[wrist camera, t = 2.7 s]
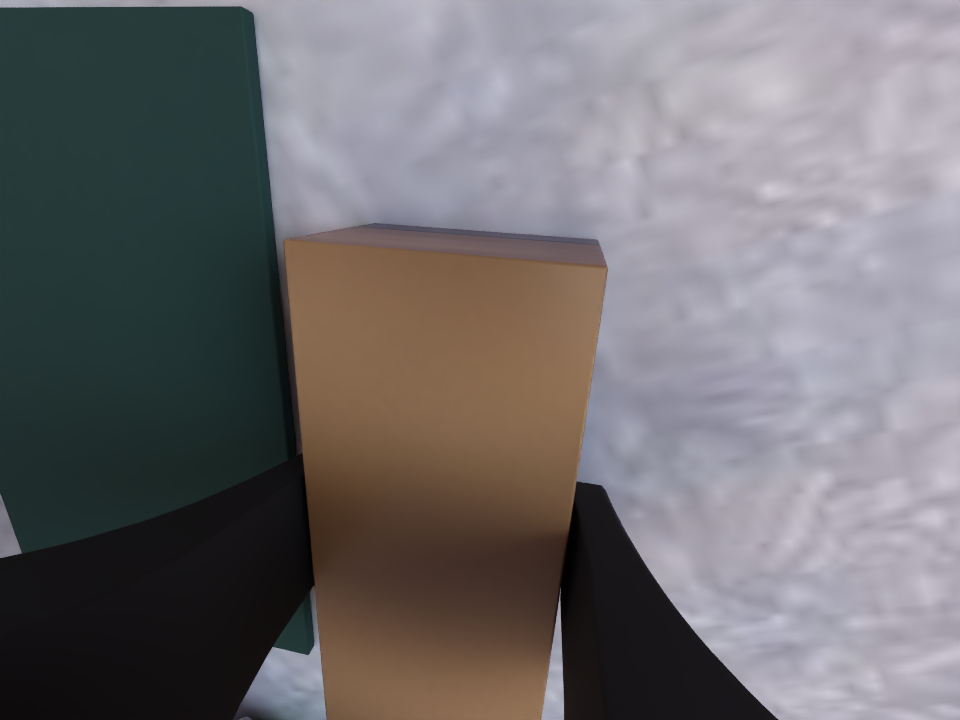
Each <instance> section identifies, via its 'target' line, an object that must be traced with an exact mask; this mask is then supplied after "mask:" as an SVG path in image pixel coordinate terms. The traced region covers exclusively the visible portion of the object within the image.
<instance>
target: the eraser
mask: <svg viewBox="0 0 960 720" xmlns="http://www.w3.org/2000/svg"><path fill="white" fill-rule="evenodd" d="M283 244H284V255H285V266H286V277H287V288H288V299H289V310H290V321H291V332H292V343H293V354H294V365H295V376H296V387H297V398H298V409H299V420H300V431H301V442H302V453H303V464H304V475H305V486H306V497H307V508H308V519H309V530H310V541H311V552H312V563H313V574H314V585H315V596H316V607H317V618H318V629H319V640H320V651H321V662H322V673H323V684H324V695H325V706H326V717H327V720H541V717H542V710H543V703H544V697H545V690H546V683H547V676H548V670H549V663H550V656H551V650H552V643H553V636H554V629H555V623H556V616H557V609H558V602H559V596H560V589H561V582H562V575H563V569H564V562H565V555H566V549H567V542H568V535H569V528H570V522H571V515H572V508H573V501H574V495H575V488H576V481H577V474H578V468H579V461H580V454H581V448H582V441H583V434H584V427H585V421H586V414H587V407H588V400H589V394H590V387H591V380H592V373H593V367H594V360H595V353H596V347H597V340H598V333H599V326H600V320H601V313H602V306H603V299H604V293H605V286H606V279H607V272H608V268H607V265H606V262H605V259H604V256H603V253H602V250H601V247H600V245H599V242H598V240H592V239H578V238H565V237H552V236H538V235H525V234H512V233H498V232H485V231H472V230H458V229H445V228H432V227H418V226H405V225H392V224H378V223H374V224H369V225H363V226H358V227H351V228H345V229H340V230H334V231H328V232H323V233H317V234H311V235H306V236H300V237H294V238H289V239H285V240H284V242H283Z"/></svg>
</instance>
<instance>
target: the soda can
mask: <svg viewBox="0 0 960 720" xmlns="http://www.w3.org/2000/svg"><path fill="white" fill-rule="evenodd" d="M238 720H253V719H251V718H249V717H243V718H240V719H238Z"/></svg>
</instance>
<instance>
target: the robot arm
mask: <svg viewBox="0 0 960 720" xmlns="http://www.w3.org/2000/svg"><path fill="white" fill-rule="evenodd" d="M313 586H314V574H313V563H312V552H311V541H310V530H309V519H308V508H307V497H306V486H305V475H304V464H303V453H302V454H300V455H298V456H296V457H294V458H292V459H289V460H287V461H285V462H283V463H281V464H279V465H277V466H275V467H273V468H271V469H269V470H267V471H265V472H262V473H260V474H258V475H256V476H254V477H252V478H250V479H248V480H245V481H243V482H241V483H239V484H236V485H234V486H232V487H229V488H227V489H225V490H223V491H220V492H218V493H216V494H213V495H211V496H209V497H207V498H204V499H202V500H199V501H197V502H194V503H192V504H189V505H187V506H184V507H181V508H179V509H176V510H173V511H170V512H168V513H165V514H162V515H159V516H156V517H153V518H151V519H148V520H145V521H142V522H139V523H135V524H132V525H128V526H125V527H122V528H118V529H115V530H111V531H108V532H105V533H101V534H98V535H95V536H91V537H88V538H84V539H81V540H77V541H73V542H69V543H65V544H61V545H57V546H53V547H49V548H45V549H40V550H36V551H31V552H27V553H22V554H18V555H13V556H8V557H4V558H0V720H232V719H233V717H234V715H235V713H236V712H237V710H238V708H239V706H240V704H241V702H242V700H243V698H244V697H245V695H246V693H247V691H248V689H249V687H250V686H251V684H252V682H253V680H254V678H255V677H256V675H257V673H258V671H259V669H260V668H261V666H262V664H263V662H264V660H265V659H266V657H267V655H268V653H269V652H270V650H271V649H272V647H273V645H274V644H275V642H276V641H277V639H278V637H279V636H280V634H281V633H282V631H283V630H284V629H285V627H286V626H287V624H288V623H289V621H290V620H291V618H292V617H293V615H294V614H295V612H296V611H297V609H298V608H299V606H300V605H301V604H302V602H303V601H304V599H305V598H306V596H307V595H308V593H309V592H310V590H311V589H312V587H313ZM560 601H561V631H562V657H563V684H564V720H778V719H777V718H776V717H775V716H774V715H773V714H772V713H771V712H769V711H768V710H767V709H766V708H765V707H764V706H763V705H762V704H761V703H760V702H759V701H758V700H757V699H756V698H755V697H754V696H753V695H752V694H751V693H750V692H749V691H748V690H747V689H746V688H745V687H744V686H743V685H742V684H741V683H740V681H739V680H738V679H737V678H736V677H735V676H734V675H733V674H732V673H731V672H730V671H729V670H728V669H727V668H726V667H725V665H724V664H723V663H722V662H721V661H720V660H719V659H718V658H717V657H716V656H715V655H714V654H713V653H712V652H711V651H710V649H709V648H708V647H707V646H706V645H705V644H704V642H703V641H702V640H701V639H700V638H699V637H698V635H697V634H696V633H695V632H694V631H693V629H692V628H691V627H690V626H689V624H688V623H687V622H686V620H685V619H684V618H683V617H682V615H681V614H680V613H679V612H678V610H677V609H676V608H675V606H674V605H673V604H672V602H671V601H670V600H669V598H668V597H667V595H666V594H665V593H664V591H663V590H662V588H661V587H660V585H659V584H658V583H657V581H656V580H655V578H654V577H653V575H652V574H651V572H650V571H649V569H648V568H647V566H646V565H645V563H644V561H643V560H642V558H641V557H640V555H639V553H638V552H637V550H636V548H635V547H634V545H633V543H632V541H631V540H630V538H629V536H628V535H627V533H626V531H625V529H624V527H623V526H622V524H621V522H620V520H619V518H618V516H617V514H616V512H615V510H614V508H613V506H612V504H611V502H610V499H609V497H608V495H607V492H606V490H605V489H604V488H603V487H602V486H601V485H595V484H589V483H582V482H576V488H575V495H574V501H573V508H572V515H571V522H570V528H569V535H568V542H567V549H566V555H565V562H564V569H563V575H562V582H561V595H560Z"/></svg>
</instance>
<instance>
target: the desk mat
mask: <svg viewBox="0 0 960 720" xmlns="http://www.w3.org/2000/svg"><path fill="white" fill-rule="evenodd" d="M294 457H296V451H295V441H294V431H293V420H292V410H291V400H290V389H289V379H288V369H287V358H286V348H285V338H284V327H283V317H282V306H281V296H280V286H279V275H278V265H277V255H276V244H275V234H274V224H273V213H272V203H271V193H270V182H269V172H268V162H267V151H266V141H265V131H264V120H263V110H262V100H261V89H260V79H259V69H258V58H257V48H256V38H255V27H254V17H253V13H252V12H250V11H248V10H246V9H244V8H243V7H40V8H0V493H1V496H2V499H3V502H4V504H5V507H6V510H7V513H8V516H9V518H10V521H11V524H12V527H13V529H14V532H15V535H16V538H17V540H18V543H19V546H20V549H21V551H22V553H27V552H31V551H36V550H40V549H45V548H49V547H53V546H57V545H61V544H65V543H69V542H73V541H77V540H81V539H84V538H88V537H91V536H95V535H98V534H101V533H105V532H108V531H111V530H115V529H118V528H122V527H125V526H128V525H132V524H135V523H139V522H142V521H145V520H148V519H151V518H153V517H156V516H159V515H162V514H165V513H168V512H170V511H173V510H176V509H179V508H181V507H184V506H187V505H189V504H192V503H194V502H197V501H199V500H202V499H204V498H207V497H209V496H211V495H213V494H216V493H218V492H220V491H223V490H225V489H227V488H229V487H232V486H234V485H236V484H239V483H241V482H243V481H245V480H248V479H250V478H252V477H254V476H256V475H258V474H260V473H262V472H265V471H267V470H269V469H271V468H273V467H275V466H277V465H279V464H281V463H283V462H285V461H287V460H289V459H292V458H294ZM273 647H276V648H281V649H285V650H289V651H293V652H297V653H301V654H306V655H309V653H310V652H311V650H312V648H313V647H314V637H313V627H312V617H311V606H310V596H309V593H308V595H307V596H306V598H305V599H304V601H303V602H302V604H301V605H300V606H299V608H298V609H297V611H296V612H295V614H294V615H293V617H292V618H291V620H290V621H289V623H288V624H287V626H286V627H285V629H284V630H283V631H282V633H281V634H280V636H279V637H278V639H277V641H276V642H275V644H274V645H273Z"/></svg>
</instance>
